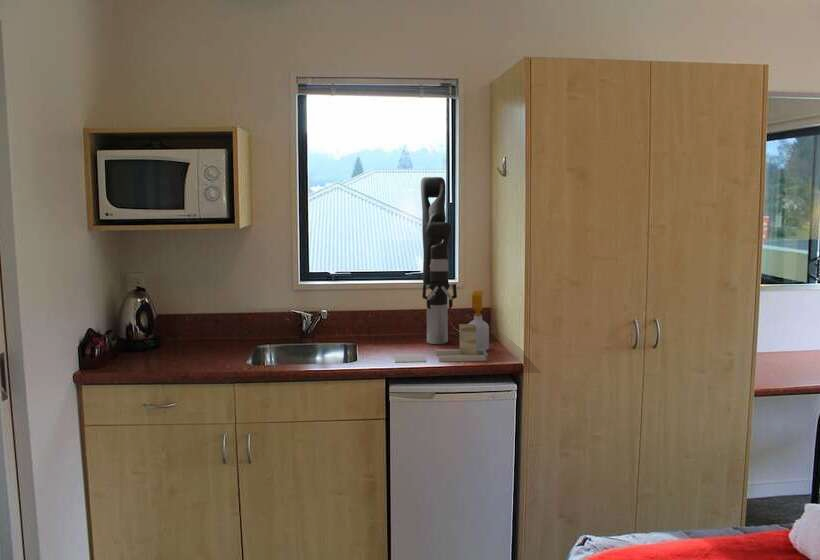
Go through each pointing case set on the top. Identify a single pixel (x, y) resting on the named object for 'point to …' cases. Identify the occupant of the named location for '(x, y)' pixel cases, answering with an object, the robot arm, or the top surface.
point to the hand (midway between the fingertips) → (439, 308)
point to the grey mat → (410, 358)
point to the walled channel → (480, 356)
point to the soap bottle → (480, 322)
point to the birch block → (467, 339)
